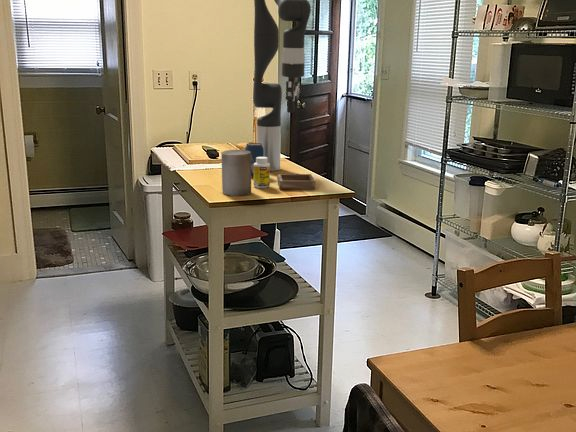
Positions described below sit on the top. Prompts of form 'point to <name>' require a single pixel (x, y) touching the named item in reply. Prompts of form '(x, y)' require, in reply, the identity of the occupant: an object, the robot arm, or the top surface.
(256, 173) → the supplement bottle
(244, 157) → the pillar candle
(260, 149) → the soda can
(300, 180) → the caddy
